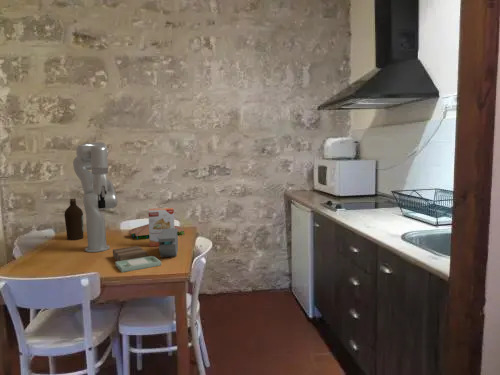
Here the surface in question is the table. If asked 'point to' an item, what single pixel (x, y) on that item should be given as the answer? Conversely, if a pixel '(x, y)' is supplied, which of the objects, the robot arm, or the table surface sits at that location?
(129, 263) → the coaster
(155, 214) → the cracker box
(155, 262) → the tray
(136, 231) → the house
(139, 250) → the riser
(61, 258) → the table surface
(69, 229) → the olive oil
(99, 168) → the robot arm
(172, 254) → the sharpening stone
